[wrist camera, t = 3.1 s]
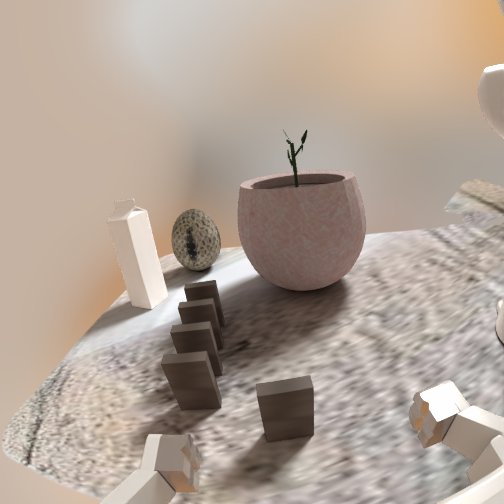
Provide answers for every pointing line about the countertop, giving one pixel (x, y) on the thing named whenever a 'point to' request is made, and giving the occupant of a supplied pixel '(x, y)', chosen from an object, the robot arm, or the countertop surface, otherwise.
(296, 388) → the domino
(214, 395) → the domino
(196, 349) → the domino
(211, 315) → the domino
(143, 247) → the milk
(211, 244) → the decorative egg
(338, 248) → the plant pot
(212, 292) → the domino
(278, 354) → the countertop surface
